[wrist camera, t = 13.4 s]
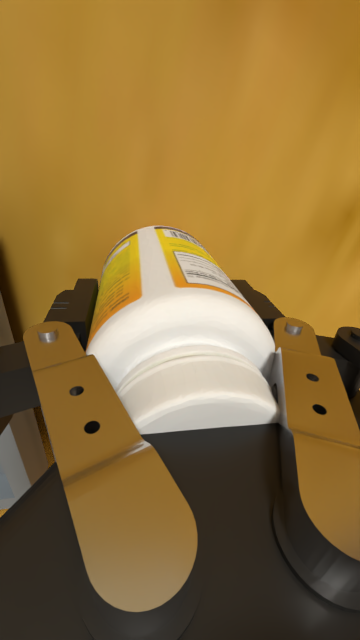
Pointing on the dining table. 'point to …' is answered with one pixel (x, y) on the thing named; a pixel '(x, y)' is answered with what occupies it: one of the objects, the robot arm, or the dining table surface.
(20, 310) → the dining table surface
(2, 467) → the tray
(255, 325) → the supplement bottle
